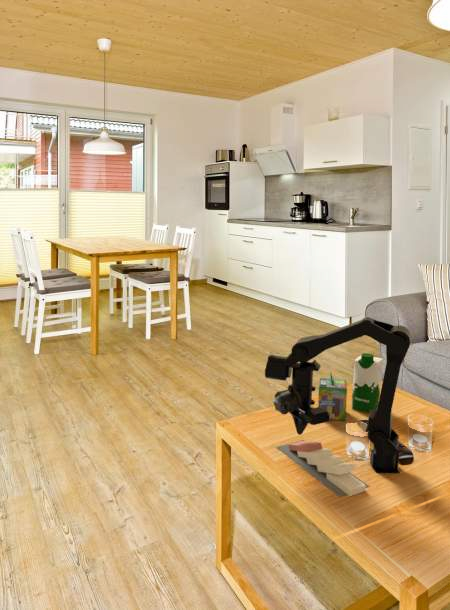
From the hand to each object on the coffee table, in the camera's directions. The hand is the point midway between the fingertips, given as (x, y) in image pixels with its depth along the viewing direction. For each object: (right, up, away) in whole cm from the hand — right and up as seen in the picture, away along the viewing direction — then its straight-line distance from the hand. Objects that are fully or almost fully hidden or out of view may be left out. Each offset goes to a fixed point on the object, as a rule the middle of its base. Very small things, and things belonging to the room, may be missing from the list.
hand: (299, 433), depth 145 cm
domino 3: (+3, -6, -5) cm, 8 cm away
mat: (+4, -7, -7) cm, 11 cm away
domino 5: (+7, -7, -12) cm, 16 cm away
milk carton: (+28, +1, +32) cm, 42 cm away
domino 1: (-1, -4, +2) cm, 5 cm away
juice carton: (+15, 0, +26) cm, 30 cm away
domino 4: (+5, -6, -9) cm, 12 cm away
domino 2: (+1, -5, -1) cm, 5 cm away
